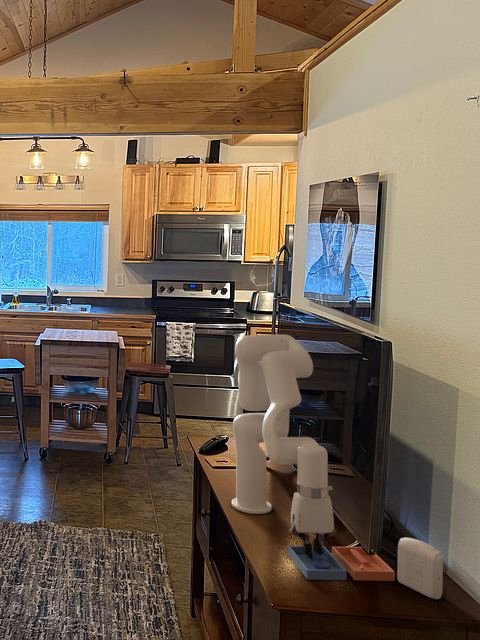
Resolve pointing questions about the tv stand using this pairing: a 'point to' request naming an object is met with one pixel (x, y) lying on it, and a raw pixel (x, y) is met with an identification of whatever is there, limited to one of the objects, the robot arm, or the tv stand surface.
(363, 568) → the terracotta spoon
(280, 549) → the tv stand surface
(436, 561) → the photo printer
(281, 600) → the tv stand surface
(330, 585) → the tv stand surface
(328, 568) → the blue spoon
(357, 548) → the terracotta tray
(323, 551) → the blue tray
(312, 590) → the tv stand surface
